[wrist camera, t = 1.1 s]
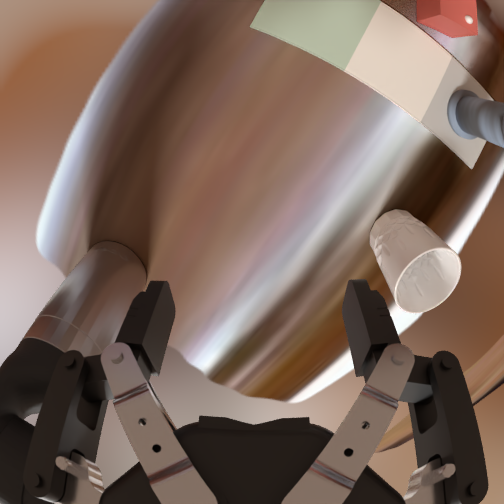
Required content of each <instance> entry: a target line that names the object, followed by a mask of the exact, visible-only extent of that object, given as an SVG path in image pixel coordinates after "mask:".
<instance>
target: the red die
mask: <svg viewBox="0 0 504 504" xmlns="http://www.w3.org/2000/svg"><path fill="white" fill-rule="evenodd" d="M417 22H419V23H421V24H423V25H426V26H428V27H430V28H432V29H435V30H437V31H439V32H441V33H443V34H445V35H447V36H449V37H451V38H455V37H463V36H473V35H478V29H477V8H476V0H417Z"/></svg>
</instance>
